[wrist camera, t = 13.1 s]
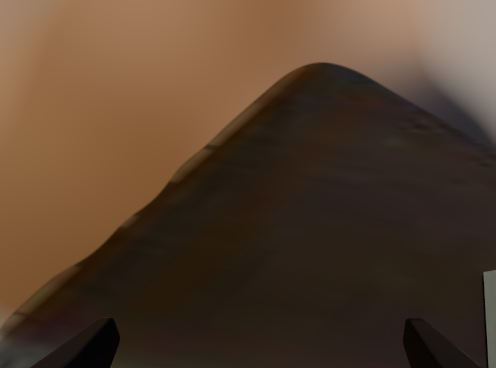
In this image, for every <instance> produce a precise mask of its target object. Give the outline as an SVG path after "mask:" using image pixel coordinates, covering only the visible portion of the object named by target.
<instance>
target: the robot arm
mask: <svg viewBox="0 0 496 368" xmlns="http://www.w3.org/2000/svg"><path fill="white" fill-rule="evenodd" d="M119 341H120V335H119V332H118V330H117V327H116V324H115V321H114V319H112V318H99V319H97V320H96V321H94V322H93V323H92V324H90V325H89V326H87V327H86V328H85V329H83V330H82V331H80V332H79V333H78V334H76V335H75V336H73V337H72V338H71V339H69V340H68V341H67V342H65V343H64V344H62V345H61V346H60V347H58V348H57V349H55V350H54V351H53V352H51V353H50V354H48V355H47V356H46V357H44V358H43V359H42V360H40V361H39V362H37V363H36V364H35V365H33V366H32V367H30V368H110V366H111V364H112V361H113V358H114V356H115V353H116V350H117V348H118V345H119ZM403 344H404V348H405V351H406V354H407V357H408V360H409V363H410V366H411V368H482V367H481V366H480V365H479V364H478V363H476V362H475V361H474V360H473V359H471V358H470V357H469V356H468V355H467V354H465V353H464V352H463V351H462V350H460V349H459V348H458V347H457V346H455V345H454V344H453V343H452V342H451V341H449V340H448V339H447V338H446V337H444V336H443V335H442V334H441V333H440V332H438V331H437V330H436V329H435V328H433V327H432V326H431V325H430V324H428V323H427V322H426V321H425V320H423V319H420V318H409V319H407V320H406V322H405V329H404V337H403Z"/></svg>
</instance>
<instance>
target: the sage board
mask: <svg viewBox="0 0 496 368" xmlns="http://www.w3.org/2000/svg"><path fill="white" fill-rule="evenodd" d="M484 290H485V309H486V327H487V346H488V364H489V368H496V270H493V271H487V272H484Z"/></svg>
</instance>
